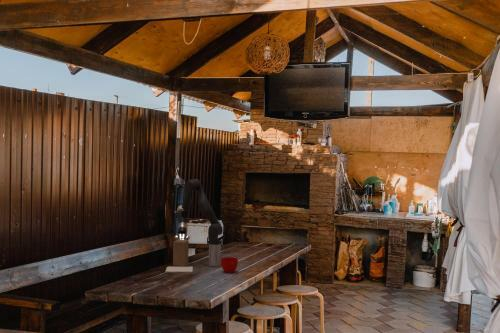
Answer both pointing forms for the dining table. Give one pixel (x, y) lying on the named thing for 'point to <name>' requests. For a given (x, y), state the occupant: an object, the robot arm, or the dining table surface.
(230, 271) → the ceramic cup
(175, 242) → the wooden block
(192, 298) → the dining table surface
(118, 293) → the dining table surface
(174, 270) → the pale grey mat
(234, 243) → the dining table surface
